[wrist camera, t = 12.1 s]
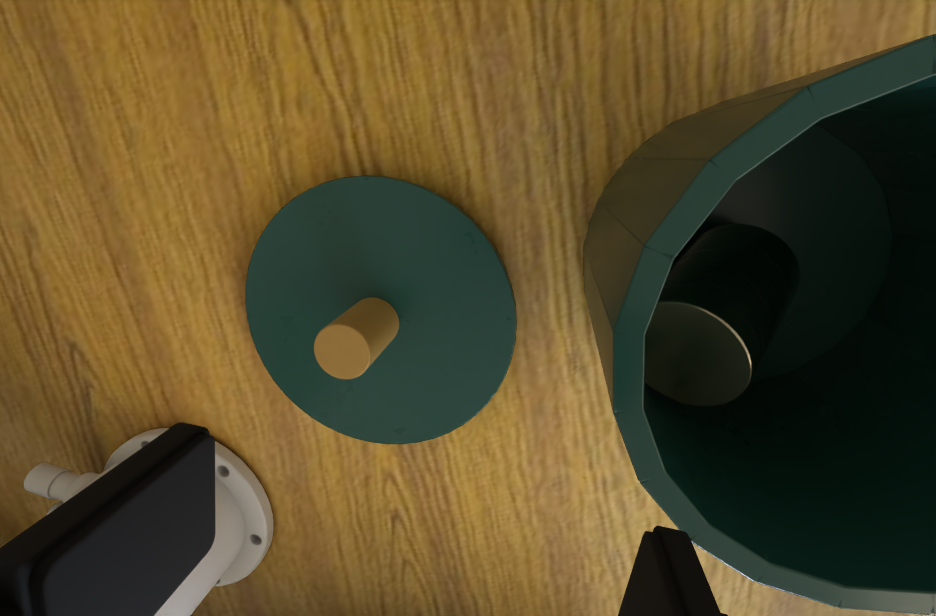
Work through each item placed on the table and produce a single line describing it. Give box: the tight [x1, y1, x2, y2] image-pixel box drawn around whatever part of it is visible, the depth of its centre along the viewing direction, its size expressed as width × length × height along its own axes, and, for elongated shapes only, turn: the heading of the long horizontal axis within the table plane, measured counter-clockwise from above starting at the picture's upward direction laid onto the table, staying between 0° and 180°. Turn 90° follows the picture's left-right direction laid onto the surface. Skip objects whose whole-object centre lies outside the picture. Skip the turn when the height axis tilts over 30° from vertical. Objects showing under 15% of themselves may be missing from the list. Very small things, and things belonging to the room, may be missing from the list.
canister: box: [583, 34, 936, 615], centre depth 18 cm, size 15×15×14 cm
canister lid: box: [246, 175, 517, 444], centre depth 26 cm, size 16×16×6 cm
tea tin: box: [644, 224, 800, 407], centre depth 21 cm, size 5×5×7 cm
